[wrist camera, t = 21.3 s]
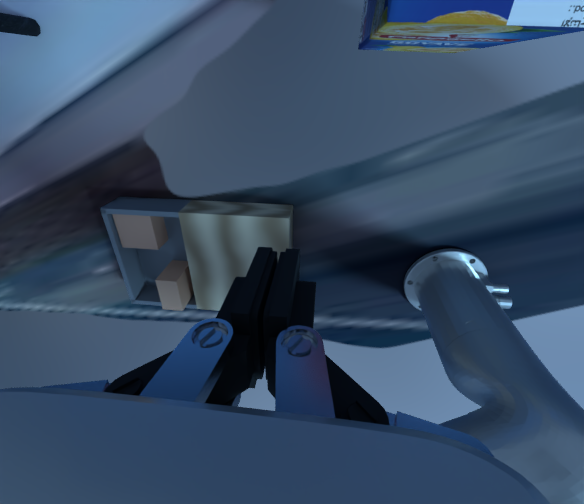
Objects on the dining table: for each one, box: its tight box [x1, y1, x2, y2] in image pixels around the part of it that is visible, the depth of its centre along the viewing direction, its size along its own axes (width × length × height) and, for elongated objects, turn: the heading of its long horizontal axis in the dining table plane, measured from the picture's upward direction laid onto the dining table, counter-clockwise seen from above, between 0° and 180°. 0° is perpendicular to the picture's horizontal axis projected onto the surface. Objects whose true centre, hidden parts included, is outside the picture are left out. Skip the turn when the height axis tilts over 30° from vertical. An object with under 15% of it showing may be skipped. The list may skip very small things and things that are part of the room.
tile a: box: [155, 260, 194, 311], centre depth 52 cm, size 6×6×4 cm
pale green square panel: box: [178, 200, 293, 311], centre depth 49 cm, size 16×18×5 cm
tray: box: [100, 197, 197, 309], centre depth 51 cm, size 12×18×5 cm, turn 0°
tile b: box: [112, 214, 168, 250], centre depth 48 cm, size 6×6×4 cm
